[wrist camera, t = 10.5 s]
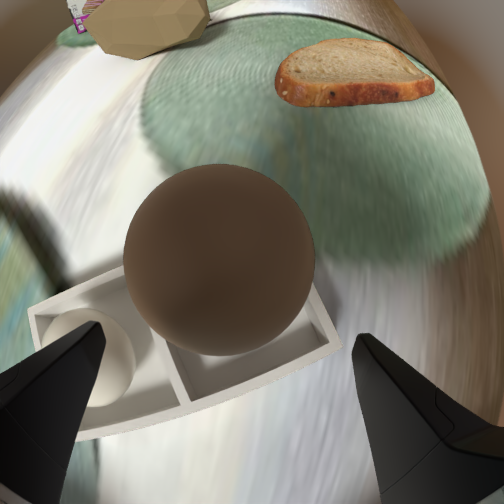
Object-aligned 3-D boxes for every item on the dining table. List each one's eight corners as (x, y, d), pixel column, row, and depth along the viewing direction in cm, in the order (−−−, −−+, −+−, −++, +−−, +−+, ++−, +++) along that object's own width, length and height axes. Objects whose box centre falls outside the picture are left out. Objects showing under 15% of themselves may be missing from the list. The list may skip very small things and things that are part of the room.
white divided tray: (331, 348, 17) (343, 346, 15) (85, 435, 14) (67, 443, 12) (269, 222, 20) (272, 204, 17) (47, 314, 17) (27, 308, 15)
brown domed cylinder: (288, 332, 17) (385, 284, 5) (211, 366, 16) (129, 397, 4) (254, 259, 18) (270, 100, 6) (180, 290, 17) (75, 173, 6)
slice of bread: (262, 100, 25) (263, 69, 21) (305, 32, 30) (308, 10, 27) (436, 166, 23) (455, 143, 19) (427, 77, 28) (436, 58, 25)
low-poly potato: (91, 65, 28) (75, 68, 20) (97, -5, 21) (84, -25, 13) (196, 58, 33) (217, 59, 25) (205, -8, 27) (230, -27, 19)
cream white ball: (162, 387, 15) (126, 400, 10) (91, 408, 15) (40, 421, 9) (131, 303, 17) (89, 281, 12) (66, 330, 16) (13, 317, 11)
